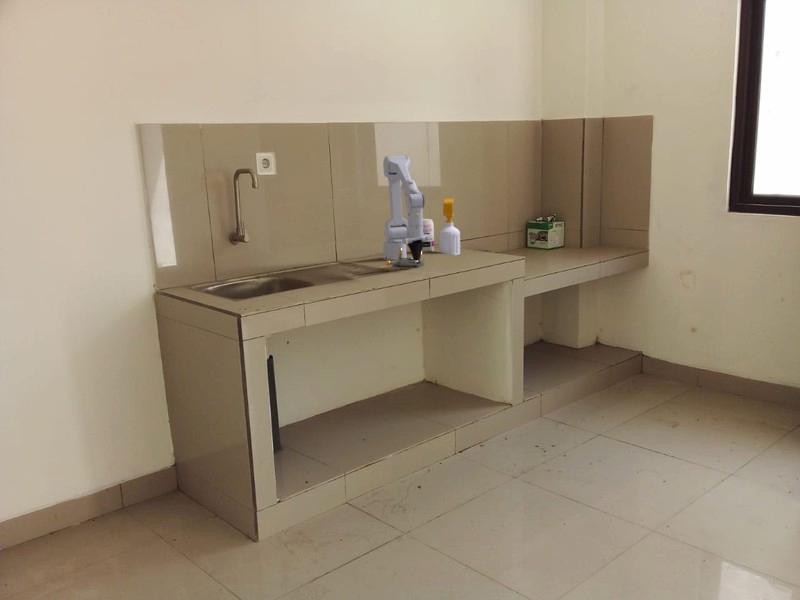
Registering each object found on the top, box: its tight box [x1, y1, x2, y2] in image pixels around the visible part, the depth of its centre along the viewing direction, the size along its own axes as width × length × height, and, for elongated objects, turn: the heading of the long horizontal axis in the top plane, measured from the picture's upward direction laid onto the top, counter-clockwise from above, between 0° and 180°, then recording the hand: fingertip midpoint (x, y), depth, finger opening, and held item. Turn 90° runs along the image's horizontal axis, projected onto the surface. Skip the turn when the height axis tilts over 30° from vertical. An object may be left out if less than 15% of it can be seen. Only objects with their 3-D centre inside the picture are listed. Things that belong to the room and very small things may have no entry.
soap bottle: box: [438, 198, 461, 257], centre depth 297 cm, size 9×9×25 cm
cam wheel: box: [385, 248, 425, 268], centre depth 269 cm, size 16×17×6 cm
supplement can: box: [422, 218, 435, 253], centre depth 307 cm, size 8×8×15 cm
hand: (416, 260), depth 263 cm, fingers closed
